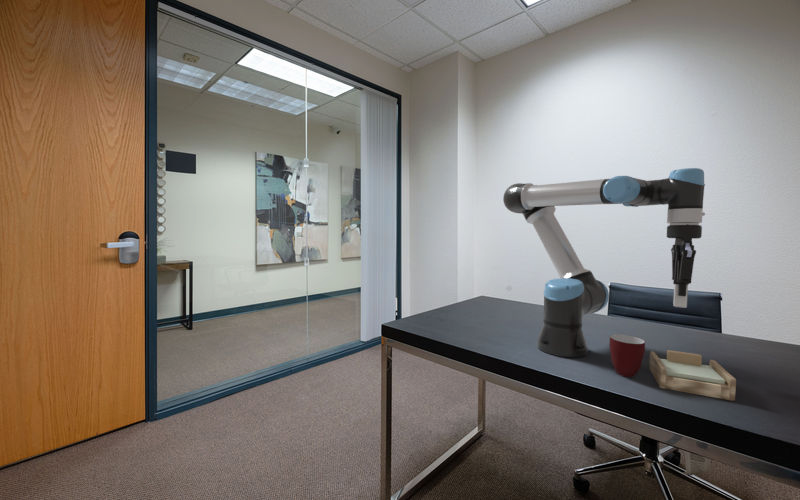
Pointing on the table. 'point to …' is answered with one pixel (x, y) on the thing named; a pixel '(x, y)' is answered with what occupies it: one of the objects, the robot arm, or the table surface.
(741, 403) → the table surface
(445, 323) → the table surface
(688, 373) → the lid
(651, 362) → the birch box
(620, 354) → the mug
